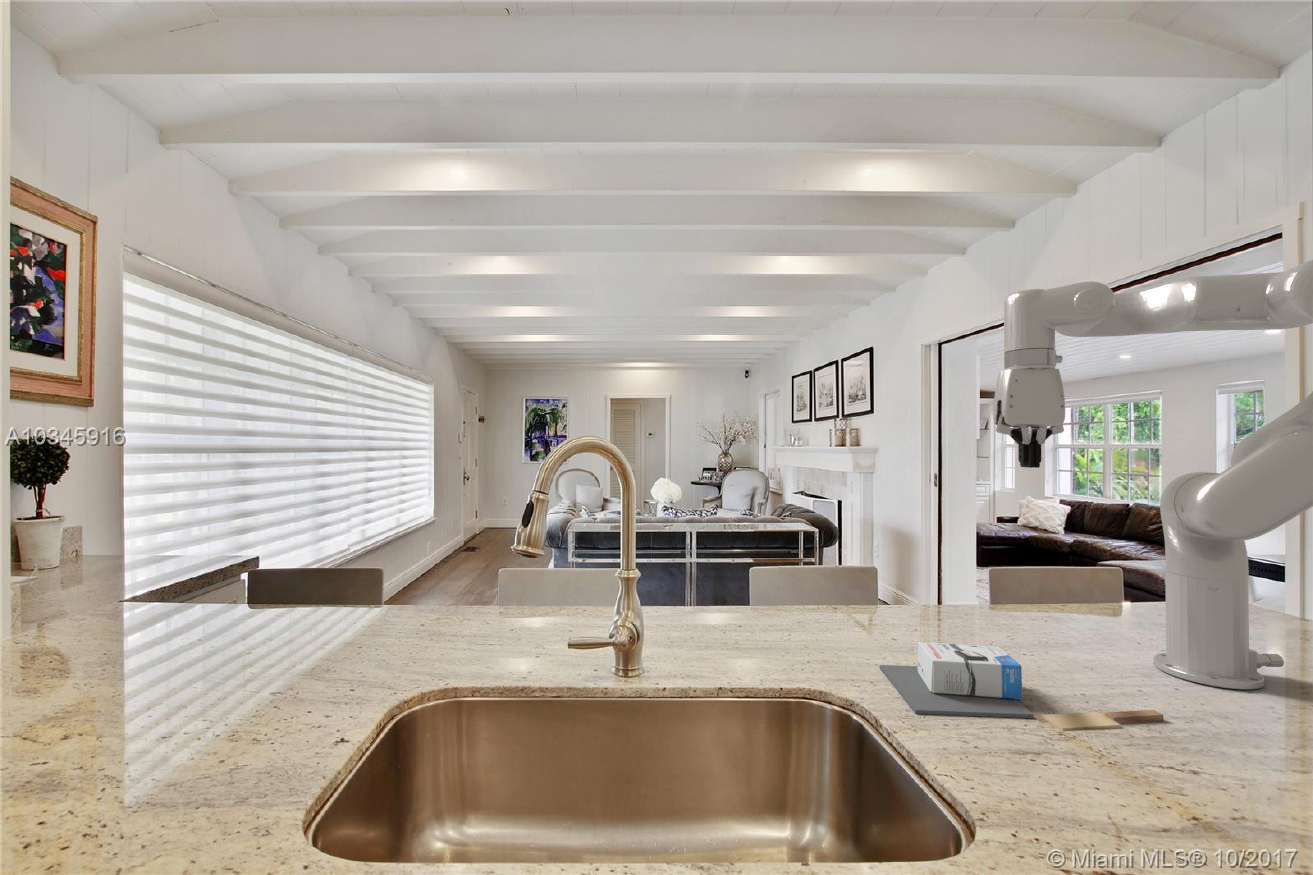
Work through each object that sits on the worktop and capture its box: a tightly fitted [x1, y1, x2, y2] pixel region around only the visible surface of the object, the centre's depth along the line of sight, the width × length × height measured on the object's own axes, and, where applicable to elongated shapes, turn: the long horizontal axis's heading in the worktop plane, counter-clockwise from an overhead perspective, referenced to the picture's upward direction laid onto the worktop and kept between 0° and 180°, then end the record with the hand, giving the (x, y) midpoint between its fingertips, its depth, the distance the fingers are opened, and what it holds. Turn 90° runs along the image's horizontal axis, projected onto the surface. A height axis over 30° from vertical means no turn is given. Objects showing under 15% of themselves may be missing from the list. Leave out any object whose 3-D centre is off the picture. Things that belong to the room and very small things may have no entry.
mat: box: [879, 664, 1034, 719], centre depth 85 cm, size 15×16×1 cm
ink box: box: [916, 641, 1023, 700], centre depth 86 cm, size 8×5×12 cm
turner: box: [1041, 709, 1164, 731], centre depth 76 cm, size 15×4×1 cm, turn 95°
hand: (1029, 467), depth 102 cm, fingers closed
